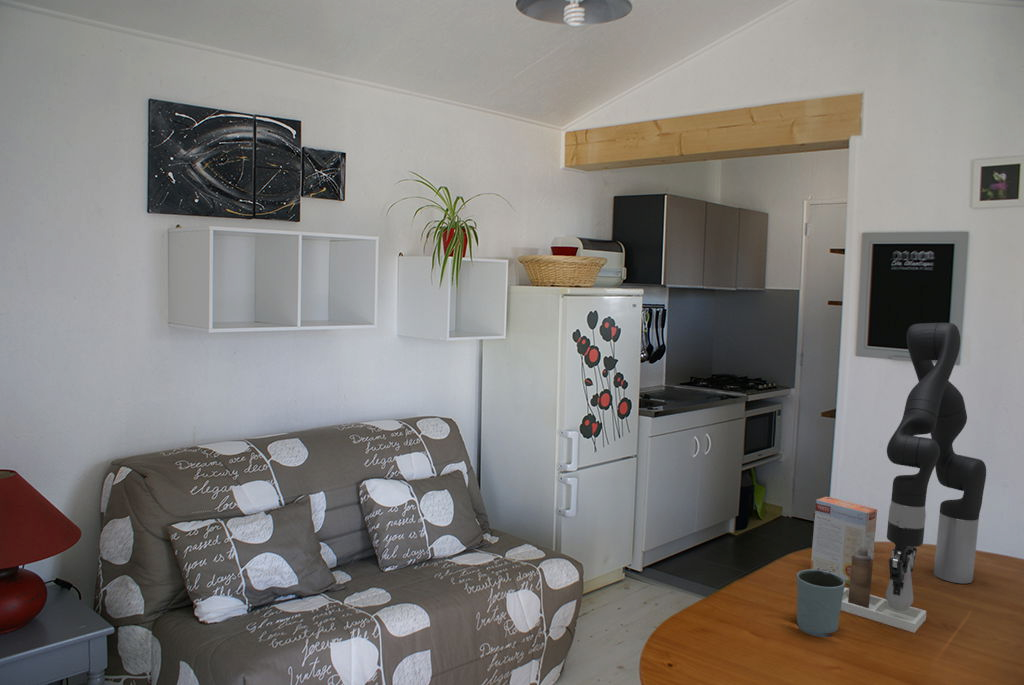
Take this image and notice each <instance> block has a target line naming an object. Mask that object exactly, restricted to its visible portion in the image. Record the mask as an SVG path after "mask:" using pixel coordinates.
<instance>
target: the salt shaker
mask: <svg viewBox="0 0 1024 685" xmlns="http://www.w3.org/2000/svg"><path fill="white" fill-rule="evenodd" d="M913 561H914V558H913V556H912V558H911V560H910V561H909V571H908V572H907V573H906V575H905V582H904V585H903V589H902V587H901V591H900V596H898V595H894V594H893V588H894V586H893V580H891V579H890V578H889V583H888V585H887V588H886V591H885V594H884V595H885V599H887V601H888V604H889V607H891V608H893V609H895V610H900V611H906V610H908V609H909V607H910V606H911V605H912V604H913V603H914V600H915V599H914V591H913V581H912V573H911V569H910V565H912V564H913ZM914 562H915V561H914ZM902 568H905V567H902ZM896 575H897V576H899V575H898V574H896ZM897 585H898V584H897ZM897 589H898V588H897ZM896 592H898V591H896ZM911 607H912V606H911Z"/></svg>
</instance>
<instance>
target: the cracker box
mask: <svg viewBox="0 0 1024 685" xmlns="http://www.w3.org/2000/svg"><path fill="white" fill-rule="evenodd" d="M814 509H815V511H814V521H813V534H812V544H811V545H812V546H811V561H810V569H815V570H823V571H827V572H831V573H834V574H836V575H838V576H840V577H841V578H843V579H844V581H845V585H848V586H850V574H851V563H852V556H853V555H855V552H858V550H859V548H861V547H864V548H866V549H867V550H868V554H870V555H871V558H872V559H873V560H874V553H875V552H874V551H875V543H876V542H875V539H876V530H877V529H876V528H877V519H878V518H877V516H878V509H876V508H874V507H869V506H866V505H862V504H858V503H853V502H850V501H846V500H842V499H838V498H835V497H834V498H833V497H830V496H823V497H821V498H817V499H815V508H814Z"/></svg>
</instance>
